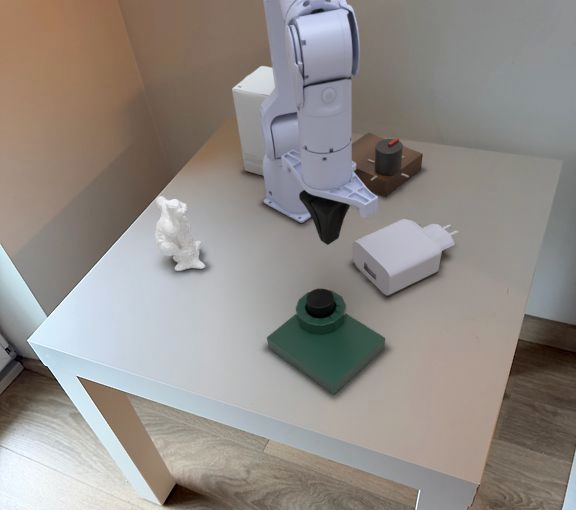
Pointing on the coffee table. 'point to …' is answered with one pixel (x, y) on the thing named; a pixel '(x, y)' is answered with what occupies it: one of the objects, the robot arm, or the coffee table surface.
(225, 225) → the coffee table surface
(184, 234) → the koala figurine
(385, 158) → the lock knob
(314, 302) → the black push button
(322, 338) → the base
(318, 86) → the robot arm
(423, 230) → the charger
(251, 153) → the white product box
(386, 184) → the panel
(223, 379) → the coffee table surface
